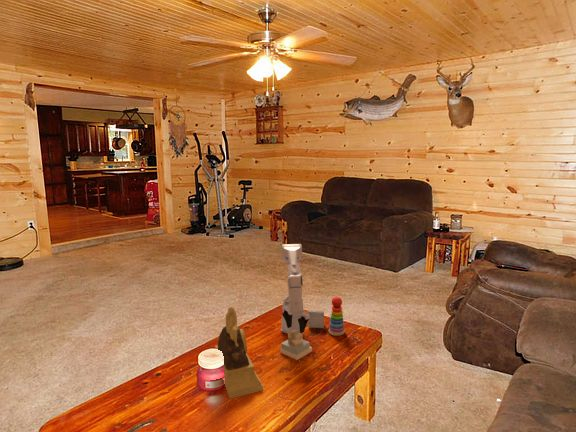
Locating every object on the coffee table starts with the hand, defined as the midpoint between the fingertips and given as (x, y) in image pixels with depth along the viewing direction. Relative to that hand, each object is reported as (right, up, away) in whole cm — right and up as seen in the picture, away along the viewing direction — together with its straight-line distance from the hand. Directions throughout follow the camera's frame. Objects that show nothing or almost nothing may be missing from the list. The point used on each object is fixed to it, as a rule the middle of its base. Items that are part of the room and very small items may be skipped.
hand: (295, 329), depth 174 cm
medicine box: (+11, -6, +26) cm, 29 cm away
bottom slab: (0, -11, +2) cm, 11 cm away
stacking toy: (+21, -7, +19) cm, 29 cm away
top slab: (0, -8, +1) cm, 9 cm away
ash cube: (0, -6, +1) cm, 6 cm away
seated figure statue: (-24, -14, -16) cm, 32 cm away
